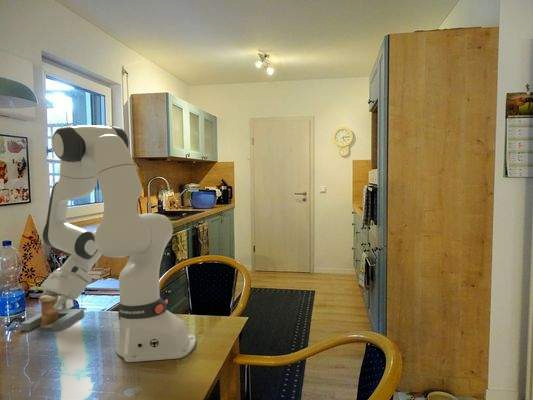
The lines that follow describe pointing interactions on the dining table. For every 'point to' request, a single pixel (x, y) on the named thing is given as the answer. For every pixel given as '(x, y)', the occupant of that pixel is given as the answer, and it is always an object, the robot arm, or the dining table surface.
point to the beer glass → (68, 303)
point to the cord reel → (48, 310)
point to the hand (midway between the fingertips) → (47, 305)
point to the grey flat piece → (64, 321)
